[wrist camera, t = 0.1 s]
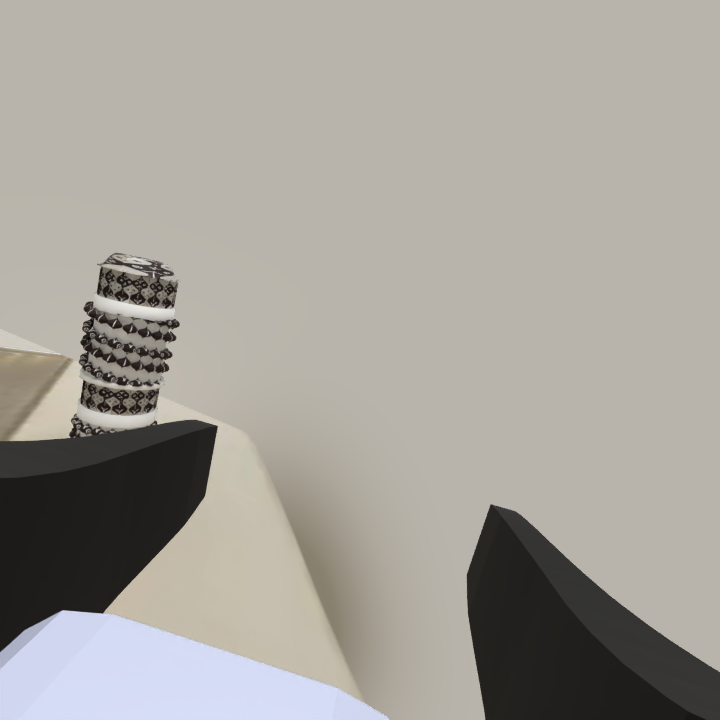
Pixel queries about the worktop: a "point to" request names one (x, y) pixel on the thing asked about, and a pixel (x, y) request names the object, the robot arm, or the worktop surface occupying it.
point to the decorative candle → (125, 345)
